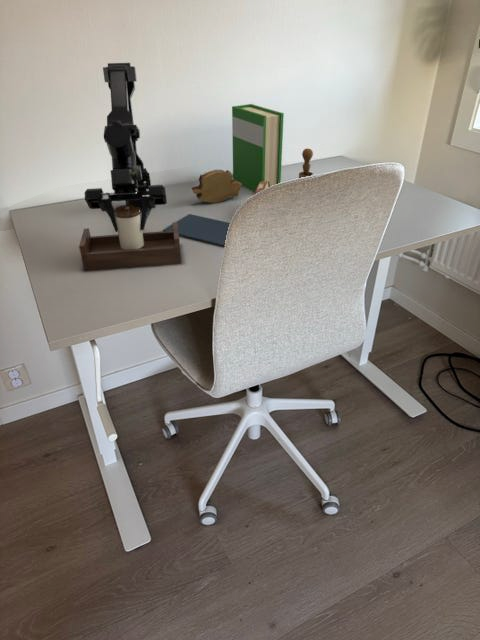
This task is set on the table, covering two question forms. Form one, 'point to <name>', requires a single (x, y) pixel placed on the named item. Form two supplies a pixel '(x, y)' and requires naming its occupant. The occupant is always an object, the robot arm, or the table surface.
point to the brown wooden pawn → (306, 163)
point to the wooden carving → (217, 186)
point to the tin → (262, 186)
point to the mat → (202, 229)
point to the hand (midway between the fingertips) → (129, 230)
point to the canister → (129, 227)
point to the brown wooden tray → (130, 251)
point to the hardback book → (256, 145)
